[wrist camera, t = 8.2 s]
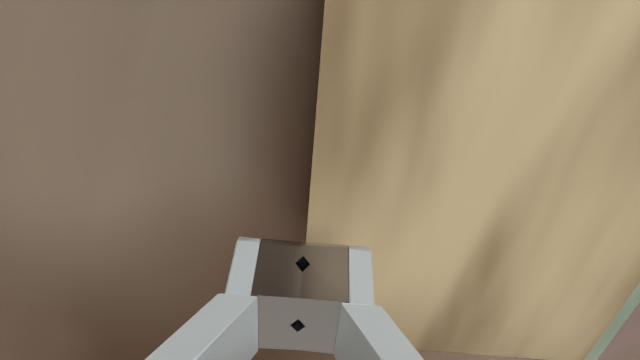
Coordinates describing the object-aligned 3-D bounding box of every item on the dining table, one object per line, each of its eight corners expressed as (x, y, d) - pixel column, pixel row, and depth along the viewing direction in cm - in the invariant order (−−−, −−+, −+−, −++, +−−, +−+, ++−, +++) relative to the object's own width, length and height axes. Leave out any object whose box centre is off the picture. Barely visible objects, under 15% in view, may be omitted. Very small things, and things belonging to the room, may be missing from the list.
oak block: (331, -90, 13) (707, -57, 13) (306, 234, 21) (547, 253, 21) (327, -33, 9) (855, 13, 10) (298, 341, 17) (594, 362, 17)
